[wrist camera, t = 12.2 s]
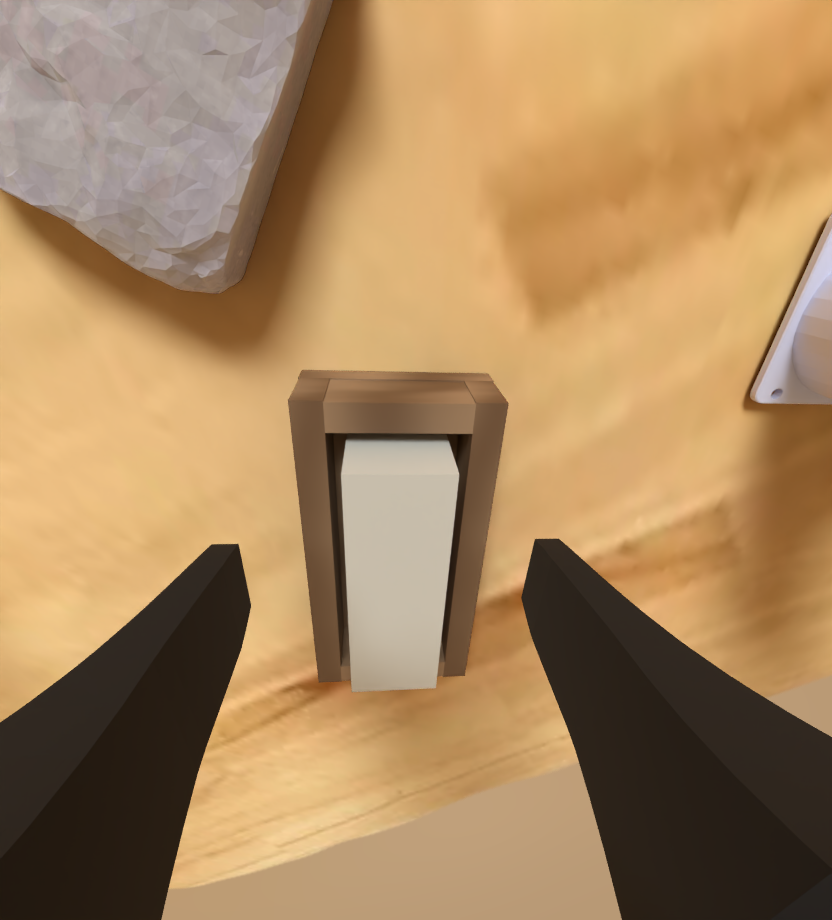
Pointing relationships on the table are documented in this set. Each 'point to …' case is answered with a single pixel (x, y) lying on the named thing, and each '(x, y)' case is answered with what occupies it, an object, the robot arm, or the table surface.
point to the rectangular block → (397, 555)
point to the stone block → (154, 122)
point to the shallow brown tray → (320, 489)
